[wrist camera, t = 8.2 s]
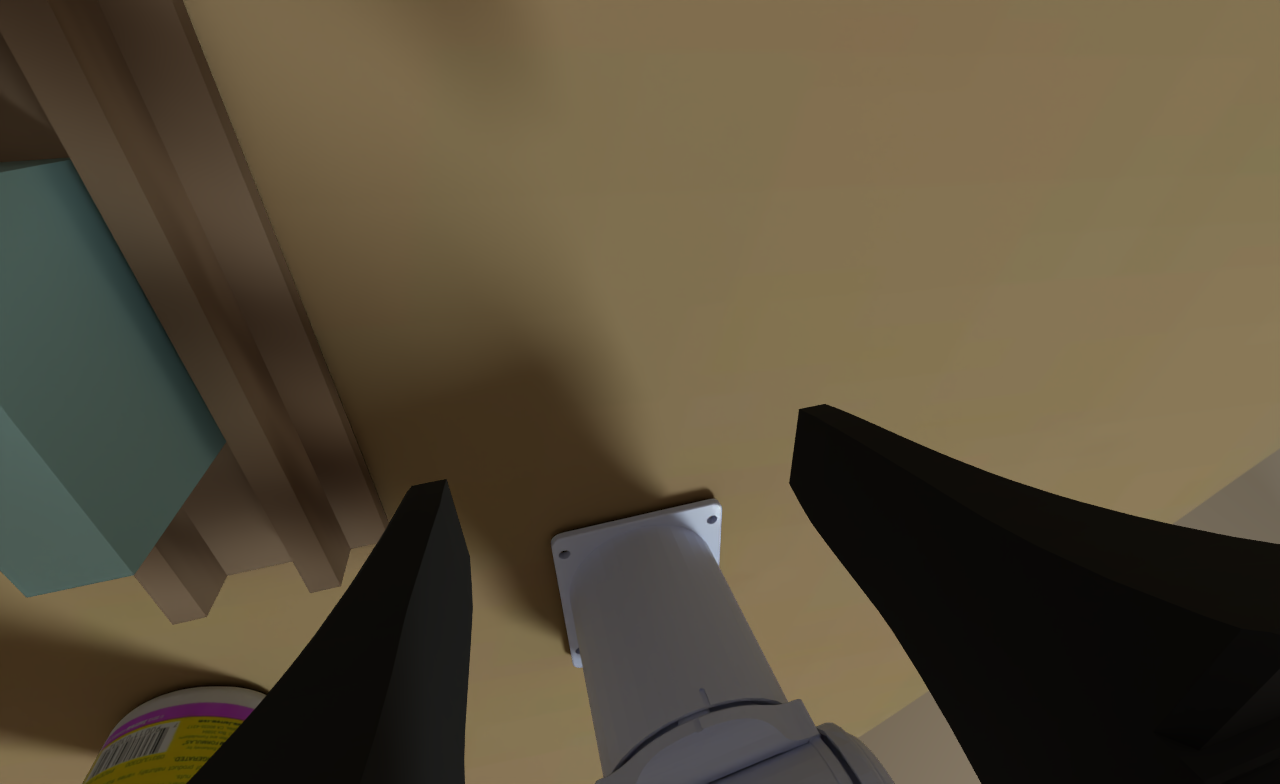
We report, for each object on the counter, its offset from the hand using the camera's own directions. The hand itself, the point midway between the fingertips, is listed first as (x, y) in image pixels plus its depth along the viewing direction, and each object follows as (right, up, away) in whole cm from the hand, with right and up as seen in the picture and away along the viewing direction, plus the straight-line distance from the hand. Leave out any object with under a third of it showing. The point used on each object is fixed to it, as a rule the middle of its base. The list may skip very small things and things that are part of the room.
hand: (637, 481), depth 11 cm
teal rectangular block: (-14, +4, +4) cm, 15 cm away
